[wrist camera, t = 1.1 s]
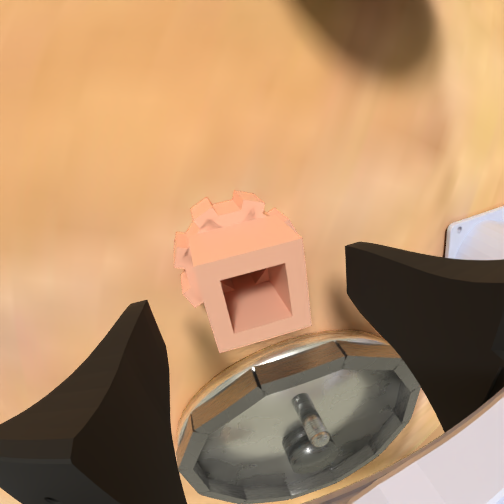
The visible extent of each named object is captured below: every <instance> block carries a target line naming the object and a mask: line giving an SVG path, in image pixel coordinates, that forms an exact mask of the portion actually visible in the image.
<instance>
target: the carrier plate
mask: <svg viewBox="0 0 504 504" xmlns="http://www.w3.org/2000/svg"><path fill="white" fill-rule="evenodd" d="M420 388H421V386H420V385H419V383H418V382H417V380H416V378H415V377H414V375H413V374H412V372H411V371H410V369H409V368H408V367H407V365H406V364H405V362H404V361H403V360H402V358H401V357H400V356H399V354H398V353H397V352H396V351H395V350H394V348H393V347H392V346H391V345H390V344H389V343H388V342H387V341H385V340H384V339H382V338H381V337H378V336H376V335H373V334H371V333H366V332H361V331H352V330H336V331H324V332H318V333H313V334H307V335H303V336H300V337H296V338H292V339H289V340H286V341H283V342H280V343H277V344H275V345H272V346H269V347H267V348H264V349H262V350H260V351H258V352H256V353H254V354H251V355H249V356H247V357H245V358H244V359H242V360H240V361H238V362H237V363H235V364H233V365H231V366H230V367H228V368H227V369H225V370H224V371H222V372H221V373H220V374H218V375H217V376H215V377H214V378H213V379H212V380H210V381H209V382H208V383H207V384H206V385H205V386H203V387H202V388H201V389H200V390H199V391H198V392H197V394H196V395H195V396H194V397H193V398H192V399H191V400H190V402H189V403H188V405H187V406H186V408H185V409H184V411H183V413H182V415H181V418H180V420H179V423H178V428H177V444H178V449H177V452H176V455H177V463H178V471H179V472H180V473H181V474H182V475H183V476H184V478H185V479H186V480H187V481H188V482H189V483H190V484H191V486H192V487H193V488H194V489H195V490H196V491H197V492H198V493H199V494H201V495H203V496H207V497H211V498H215V499H219V500H223V501H227V502H232V503H237V504H241V503H242V504H253V503H265V502H275V501H283V500H289V499H293V498H296V497H299V496H302V495H305V494H308V493H311V492H314V491H317V490H319V489H322V488H325V487H327V486H330V485H332V484H335V483H337V481H338V482H339V481H341V480H343V479H344V478H346V477H347V476H349V475H351V474H352V473H354V472H355V471H357V470H358V469H360V468H361V467H363V466H364V465H366V464H367V463H369V462H370V461H372V460H373V459H375V458H376V457H377V456H379V454H381V453H382V452H383V451H384V450H385V449H386V448H387V447H388V445H389V444H390V443H391V442H392V441H393V440H394V439H395V438H396V436H397V435H398V434H399V433H400V432H401V431H402V429H403V428H404V427H405V426H406V425H407V423H408V422H409V421H410V419H411V417H412V414H413V411H414V408H415V404H416V401H417V398H418V395H419V391H420Z"/></svg>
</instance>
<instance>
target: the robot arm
mask: <svg viewBox="0 0 504 504" xmlns="http://www.w3.org/2000/svg"><path fill="white" fill-rule="evenodd" d="M345 255H346V279H347V294H348V296H349V297H350V299H351V300H352V302H353V303H354V305H355V306H356V308H357V309H358V310H359V312H360V313H361V314H362V315H363V316H364V317H365V318H366V320H367V321H368V322H369V323H370V324H371V325H372V326H373V327H374V328H375V329H376V330H377V331H378V332H379V333H380V334H381V336H382V337H383V338H384V339H385V340H386V341H387V342H388V343H389V344H390V345H391V346H392V347H393V348H394V350H395V351H396V352H397V353H398V354H399V356H400V357H401V358H402V360H403V361H404V362H405V364H406V365H407V367H408V368H409V369H410V371H411V372H412V374H413V375H414V377H415V378H416V380H417V382H418V383H419V385H420V386H421V388H422V390H423V391H424V393H425V395H426V396H427V398H428V400H429V402H430V404H431V405H432V407H433V409H434V411H435V413H436V415H437V417H438V419H439V421H440V423H441V425H442V427H443V430H444V432H445V433H444V434H442V435H441V436H439V437H438V438H436V439H435V440H433V441H432V442H430V443H428V444H427V445H425V446H424V447H422V448H420V449H419V450H417V451H415V452H414V453H412V454H410V455H408V456H407V457H405V458H403V459H401V460H400V461H398V462H396V463H394V464H392V465H390V466H388V467H387V468H385V469H383V470H381V471H379V472H377V473H375V474H373V475H371V476H368V477H366V478H364V479H362V480H360V481H358V482H356V483H353V484H351V485H349V486H346V487H344V488H342V489H339V490H337V491H334V492H332V493H329V494H327V495H324V496H322V497H319V498H316V499H313V500H311V501H308V502H305V503H302V504H504V206H501V207H498V208H495V209H493V210H490V211H487V212H484V213H481V214H478V215H475V216H472V217H469V218H466V219H463V220H460V221H457V222H454V223H451V224H450V225H449V226H448V229H447V239H446V251H445V258H443V257H436V256H431V255H425V254H420V253H415V252H410V251H405V250H401V249H396V248H392V247H387V246H383V245H378V244H373V243H367V242H357V243H353V244H350V245H347V246H345ZM0 488H2V489H3V490H4V491H6V492H7V493H8V494H10V495H11V496H12V497H14V498H15V499H16V500H18V501H19V502H21V503H22V504H187V502H186V498H185V495H184V491H183V487H182V484H181V480H180V475H179V471H178V466H177V462H176V457H175V451H174V446H173V440H172V434H171V424H170V385H169V364H168V357H167V350H166V345H165V343H164V340H163V338H162V336H161V333H160V331H159V328H158V326H157V324H156V321H155V319H154V316H153V314H152V311H151V309H150V306H149V303H148V301H147V300H144V301H140V302H136V303H132V304H130V305H129V306H128V307H127V309H126V310H125V311H124V312H123V314H122V315H121V316H120V318H119V319H118V320H117V322H116V323H115V324H114V326H113V327H112V328H111V330H110V331H109V332H108V334H107V335H106V336H105V337H104V339H103V340H102V341H101V342H100V343H99V345H98V346H97V347H96V348H95V350H94V351H93V352H92V353H91V354H90V356H89V357H88V358H87V359H86V360H85V361H84V362H83V363H82V364H81V365H80V366H79V367H78V368H77V369H76V370H75V371H74V372H73V373H72V374H71V375H70V376H69V377H68V378H67V379H66V380H65V381H63V382H62V383H61V384H60V385H59V386H58V387H56V388H55V389H54V390H53V391H52V392H50V393H49V394H48V395H47V396H45V397H44V398H43V399H41V400H40V401H39V402H37V403H36V404H34V405H33V406H31V407H30V408H28V409H27V410H25V411H24V412H22V413H20V414H19V415H17V416H15V417H13V418H11V419H10V420H8V421H6V422H4V423H2V424H0Z"/></svg>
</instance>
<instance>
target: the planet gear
mask: <svg viewBox="0 0 504 504" xmlns="http://www.w3.org/2000/svg"><path fill="white" fill-rule="evenodd" d="M264 205H265V203H264V202H263V201H262V200H261V199H259V198H258V197H257V196H256V195H254V194H253V193H247V192H241V191H235V190H234V194H233V199H232V200H230V201H226V202H221V203H217V204H213V205H212V203H211V202H210V201H209V199H208V198H207V197H206V198H205V199H203V200H202V201H200V202H199V203H198V204H196V205H195V206H194V207H192V208H191V213H192V217H193V222H192V224H191V226H190V227H189V229H188V230H187V232H186V233H180V232H176V237H175V245H174V268H181V269H185V271H184V272H183V273H182V274H181V283H182V294H183V295H184V296H185V297H186V299H187V300H188V301H189V302H190V303H191V304H192V305H193V306H194V307H195V308H196V307H197V306H199V305H200V304H202V303H204V306H205V309H206V312H207V315H208V319H209V322H210V325H211V328H212V332H213V335H214V338H215V341H216V344H217V347H218V350H219V353H222V352H226V351H229V350H233V349H237V348H240V347H244V346H247V345H251V344H254V343H258V342H261V341H265V340H268V339H271V338H274V337H278V336H281V335H284V334H287V333H291V332H294V331H297V330H300V329H303V328H306V327H309V326H312V324H311V312H310V302H309V292H308V282H307V272H306V263H305V254H304V246H303V238H302V237H301V236H300V235H299V234H298V233H297V231H296V230H295V228H294V226H293V225H292V223H291V221H290V220H289V219H288V218H287V217H286V216H285V215H283V214H282V213H281V212H280V211H278V210H277V209H276V208H273V209H272V210H271V211H269V212H268V213H266V212H265V211H263V210H264Z"/></svg>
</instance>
